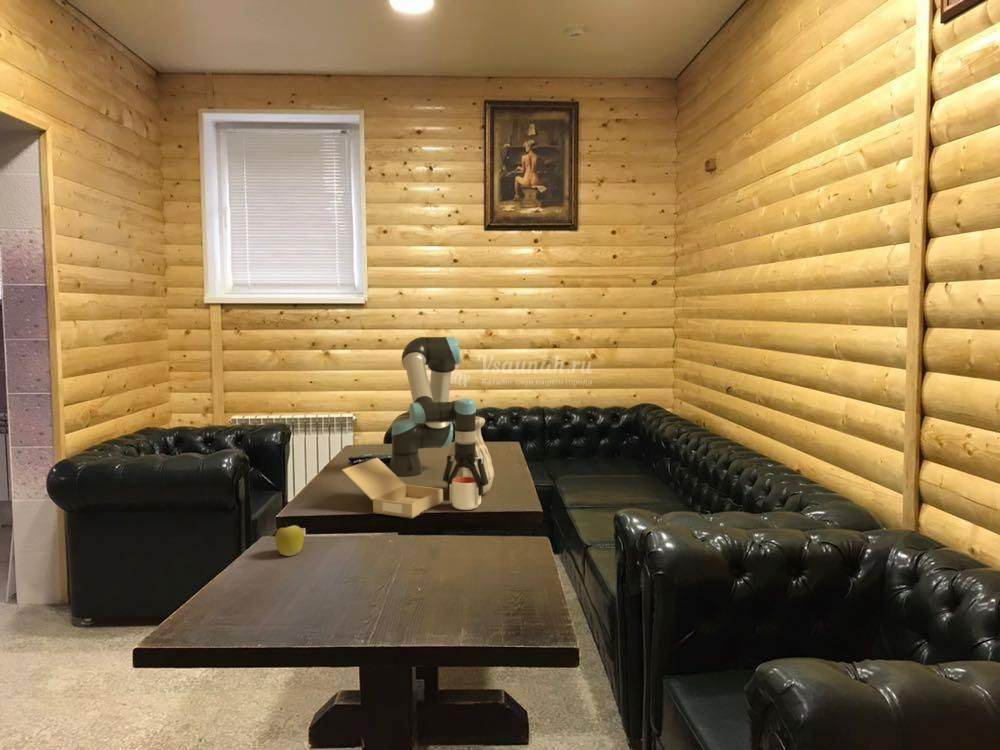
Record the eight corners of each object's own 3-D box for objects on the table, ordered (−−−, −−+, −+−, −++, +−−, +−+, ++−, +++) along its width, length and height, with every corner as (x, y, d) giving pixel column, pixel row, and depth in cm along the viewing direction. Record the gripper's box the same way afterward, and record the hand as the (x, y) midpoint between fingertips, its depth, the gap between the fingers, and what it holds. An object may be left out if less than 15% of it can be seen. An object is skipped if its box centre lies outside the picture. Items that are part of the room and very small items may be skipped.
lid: (406, 484, 255) (405, 486, 255) (377, 457, 259) (376, 458, 260) (372, 499, 235) (371, 500, 235) (342, 469, 239) (341, 470, 239)
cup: (475, 511, 236) (475, 484, 235) (448, 509, 239) (448, 482, 238) (482, 503, 246) (482, 477, 245) (456, 502, 248) (456, 475, 247)
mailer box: (406, 497, 255) (406, 484, 255) (443, 502, 249) (442, 488, 249) (373, 512, 235) (372, 499, 235) (412, 518, 229) (411, 504, 228)
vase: (451, 486, 272) (451, 414, 269) (499, 489, 268) (499, 415, 265) (436, 499, 252) (436, 421, 250) (488, 502, 248) (488, 423, 246)
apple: (306, 553, 192) (295, 521, 190) (279, 563, 191) (267, 531, 189) (310, 544, 199) (298, 514, 198) (283, 553, 198) (272, 523, 197)
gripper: (432, 441, 241) (433, 501, 243) (489, 446, 232) (489, 508, 234) (442, 437, 248) (442, 496, 250) (498, 442, 239) (497, 503, 241)
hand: (465, 502), depth 242 cm, fingers closed on cup, 10 cm apart
